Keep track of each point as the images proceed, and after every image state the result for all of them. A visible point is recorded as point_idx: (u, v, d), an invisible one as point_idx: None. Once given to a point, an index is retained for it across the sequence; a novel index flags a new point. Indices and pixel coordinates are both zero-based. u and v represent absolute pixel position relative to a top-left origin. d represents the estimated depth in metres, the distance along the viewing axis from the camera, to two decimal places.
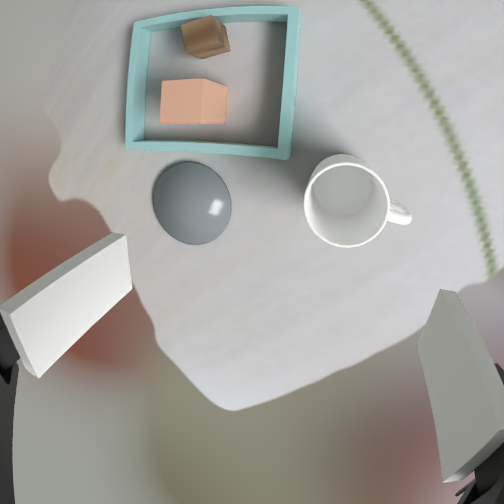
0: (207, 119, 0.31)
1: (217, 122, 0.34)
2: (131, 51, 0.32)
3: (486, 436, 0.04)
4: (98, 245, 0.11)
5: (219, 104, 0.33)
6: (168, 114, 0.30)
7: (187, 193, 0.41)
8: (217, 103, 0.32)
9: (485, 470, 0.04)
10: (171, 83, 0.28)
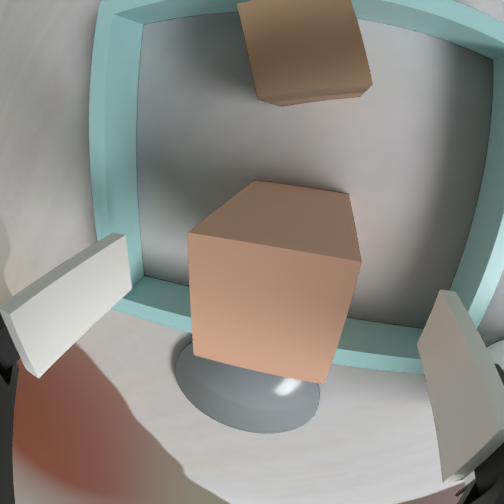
0: None
1: None
2: (93, 77, 0.12)
3: (486, 436, 0.04)
4: (99, 245, 0.11)
5: None
6: (220, 342, 0.10)
7: (241, 381, 0.22)
8: None
9: (485, 470, 0.04)
10: (226, 251, 0.09)
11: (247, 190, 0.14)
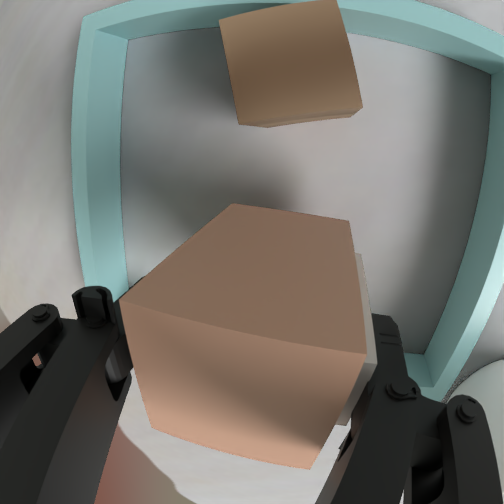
0: None
1: None
2: (75, 97, 0.12)
3: None
4: None
5: None
6: (179, 423, 0.07)
7: None
8: None
9: (352, 420, 0.06)
10: (170, 329, 0.06)
11: (219, 220, 0.11)
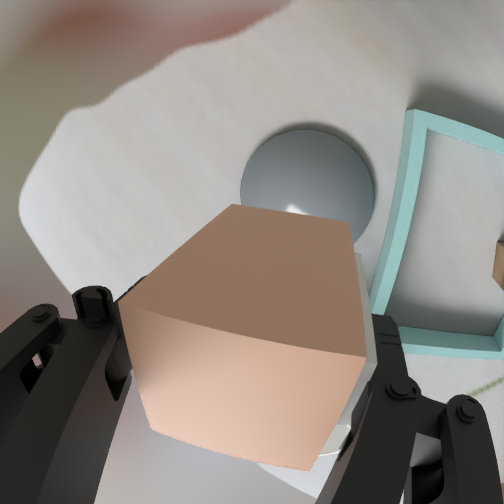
0: None
1: None
2: None
3: None
4: None
5: None
6: (179, 424, 0.07)
7: (325, 197, 0.26)
8: None
9: (352, 420, 0.06)
10: (169, 332, 0.06)
11: (219, 221, 0.11)
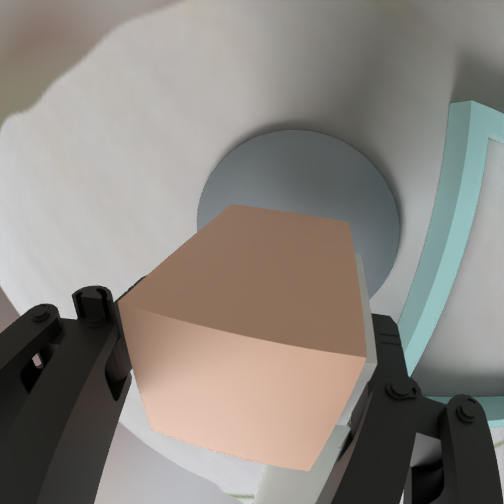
0: None
1: None
2: None
3: None
4: None
5: None
6: (179, 424, 0.07)
7: None
8: None
9: (352, 420, 0.06)
10: (169, 332, 0.06)
11: (218, 221, 0.11)
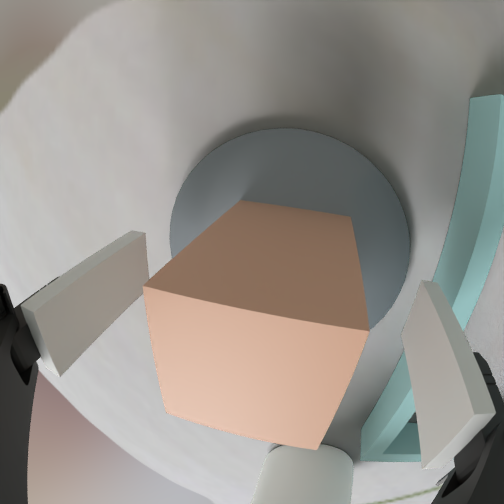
0: None
1: None
2: None
3: (462, 421, 0.05)
4: (119, 243, 0.11)
5: None
6: (194, 405, 0.08)
7: None
8: None
9: (463, 459, 0.05)
10: (191, 312, 0.06)
11: (229, 215, 0.11)
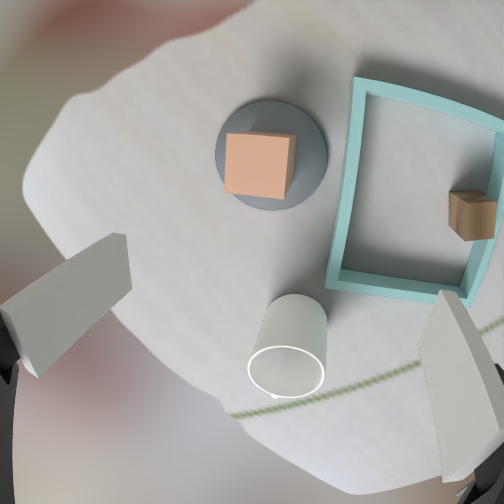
0: (286, 189, 0.26)
1: (290, 185, 0.28)
2: (485, 114, 0.21)
3: (486, 436, 0.04)
4: (98, 245, 0.11)
5: (292, 162, 0.28)
6: (237, 182, 0.24)
7: None
8: (292, 162, 0.27)
9: (485, 470, 0.04)
10: (241, 138, 0.23)
11: (246, 131, 0.28)
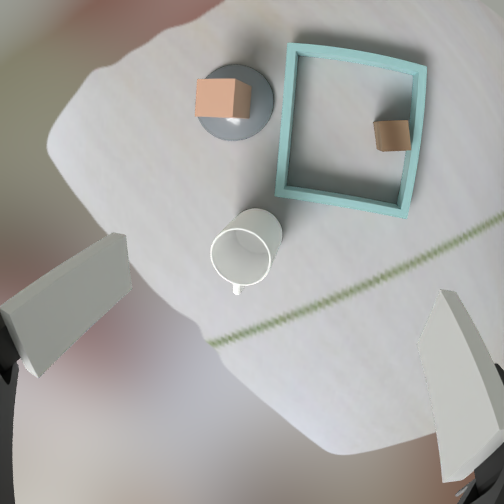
0: (237, 114, 0.35)
1: (243, 117, 0.38)
2: (393, 59, 0.30)
3: (486, 436, 0.04)
4: (98, 245, 0.11)
5: (245, 101, 0.38)
6: (203, 108, 0.34)
7: None
8: (244, 100, 0.37)
9: (485, 470, 0.04)
10: (206, 81, 0.33)
11: None
